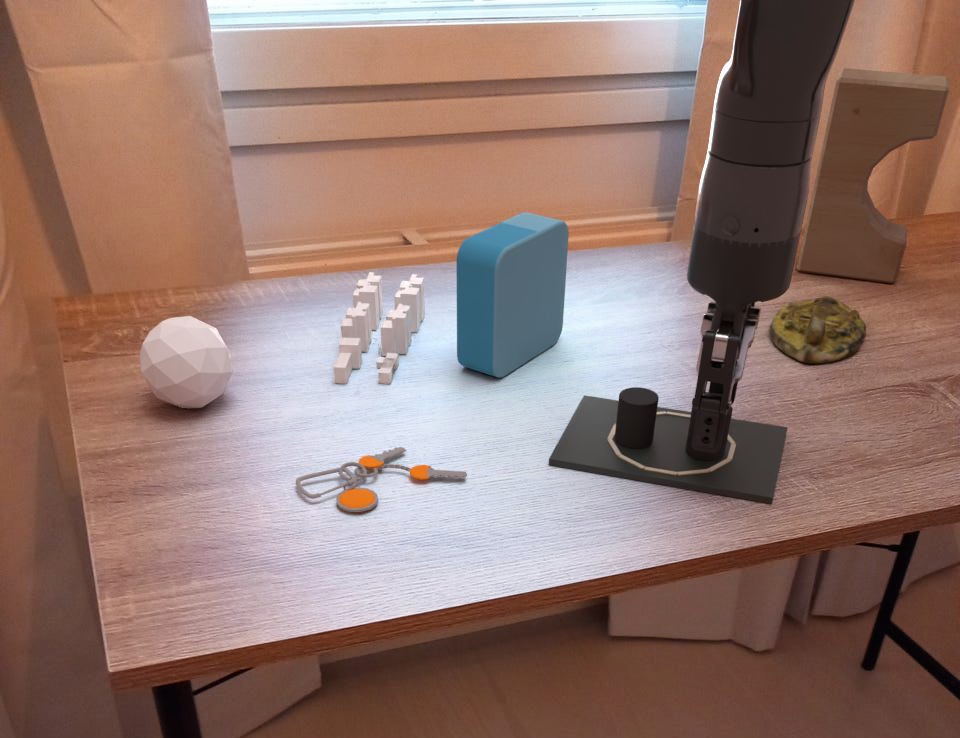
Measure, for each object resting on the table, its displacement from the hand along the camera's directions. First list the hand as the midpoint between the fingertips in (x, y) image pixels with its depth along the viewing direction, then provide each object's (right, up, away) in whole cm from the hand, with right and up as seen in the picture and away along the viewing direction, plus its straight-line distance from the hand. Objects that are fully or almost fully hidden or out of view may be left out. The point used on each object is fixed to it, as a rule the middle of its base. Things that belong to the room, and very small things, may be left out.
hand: (713, 425), depth 83 cm
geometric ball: (-45, +4, +8) cm, 46 cm away
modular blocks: (-29, +12, +18) cm, 36 cm away
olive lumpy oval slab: (+15, +13, +21) cm, 29 cm away
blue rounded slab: (-16, +10, +17) cm, 25 cm away
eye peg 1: (-6, -1, +3) cm, 7 cm away
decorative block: (+23, +25, +35) cm, 49 cm away
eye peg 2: (0, -2, +1) cm, 2 cm away
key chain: (-27, -5, -2) cm, 28 cm away
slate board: (-3, -1, +3) cm, 4 cm away
